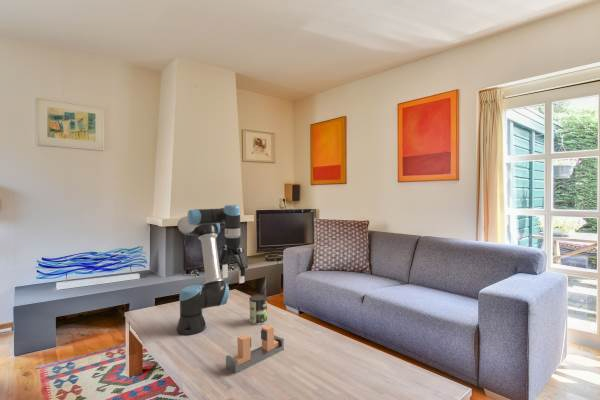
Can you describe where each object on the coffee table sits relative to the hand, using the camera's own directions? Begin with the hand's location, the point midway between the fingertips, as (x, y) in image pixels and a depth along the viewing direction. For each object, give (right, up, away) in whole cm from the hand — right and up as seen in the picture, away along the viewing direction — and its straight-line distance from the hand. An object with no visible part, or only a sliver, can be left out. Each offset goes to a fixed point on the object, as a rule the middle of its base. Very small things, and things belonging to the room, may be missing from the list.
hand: (233, 280), depth 162 cm
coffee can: (+8, -32, +32) cm, 46 cm away
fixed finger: (+18, -31, -5) cm, 36 cm away
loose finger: (+7, -31, -16) cm, 36 cm away
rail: (+13, -33, -11) cm, 37 cm away
